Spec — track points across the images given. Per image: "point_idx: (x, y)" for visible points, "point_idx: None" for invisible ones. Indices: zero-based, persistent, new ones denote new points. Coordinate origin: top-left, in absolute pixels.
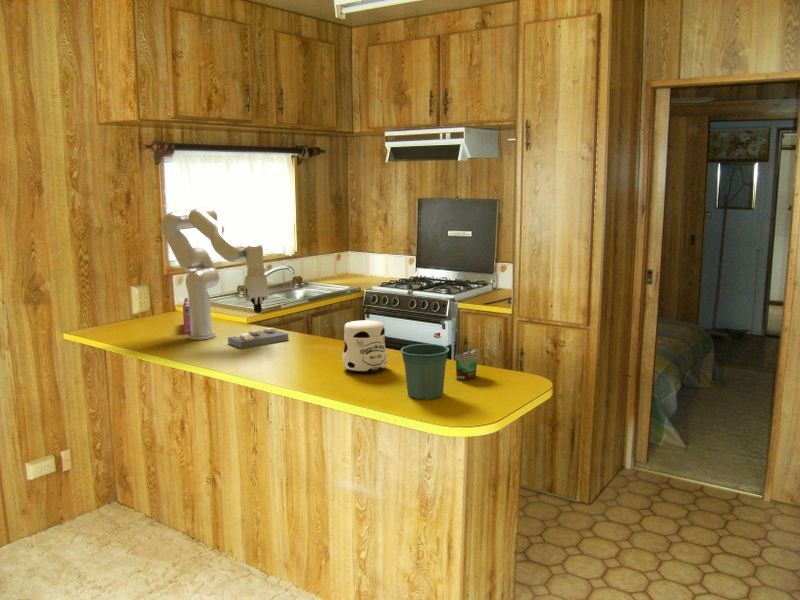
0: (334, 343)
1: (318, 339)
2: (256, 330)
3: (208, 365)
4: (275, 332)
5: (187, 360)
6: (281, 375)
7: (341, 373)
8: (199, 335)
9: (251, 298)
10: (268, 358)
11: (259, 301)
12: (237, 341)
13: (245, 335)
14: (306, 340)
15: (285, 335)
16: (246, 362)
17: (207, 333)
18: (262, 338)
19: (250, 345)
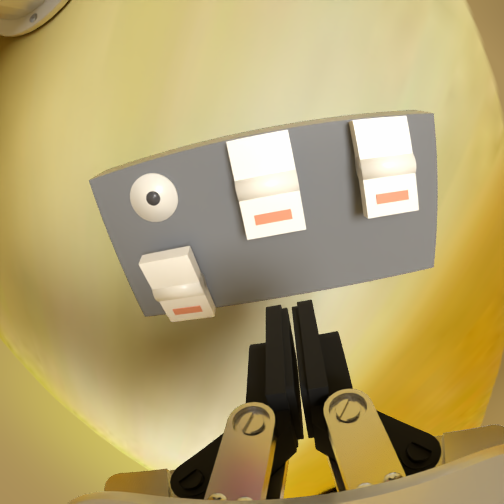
0: (478, 357)
1: (494, 292)
2: (279, 189)
3: (68, 398)
4: None
5: (8, 334)
6: None
7: (312, 495)
8: (5, 19)
9: (207, 492)
10: (225, 426)
11: (334, 458)
12: (132, 285)
13: (170, 297)
14: (463, 287)
15: (415, 268)
16: (159, 425)
17: (31, 3)
18: (272, 298)
19: None
